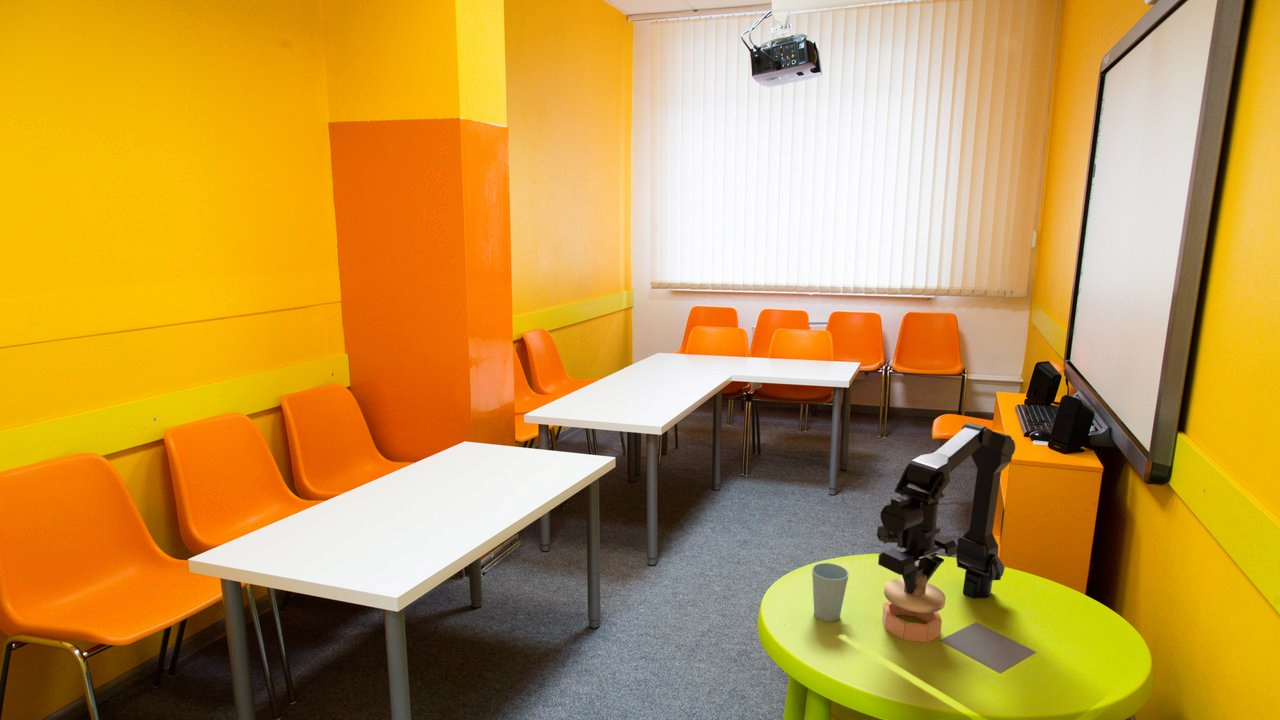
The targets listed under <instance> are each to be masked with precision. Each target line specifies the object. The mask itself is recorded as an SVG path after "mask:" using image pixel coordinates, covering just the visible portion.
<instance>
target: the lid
mask: <svg viewBox="0 0 1280 720" xmlns="http://www.w3.org/2000/svg"><path fill="white" fill-rule="evenodd" d="M926 582H927V575H924V574H921V576H920V578H919V580H918V583H917V585H916V587H915V589H914V591H913V593H912V594H910V593H908V592H907V590H906V587H905V583H904V580H903V577H901V578H894V579H891V580H889V581H887V582H886V583H885V585H884V590H883V594H884V597H885V599H886V600H887V601H890V602H891V603H892V604H894V605H896V606H898V607H900V608H903V609H906V610H909V611H913V612H920V613H931V612H936V611H938V612H939V611H941V610H942V609H944V607H945V605H946V594H945V593H944V592H943V591H942V590H941V589H940V588H938V587H937V586H935V585H933V584H931V583H930V582H927V583H926Z"/></svg>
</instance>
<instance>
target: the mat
mask: <svg viewBox="0 0 1280 720" xmlns="http://www.w3.org/2000/svg"><path fill="white" fill-rule="evenodd" d="M939 641H940V642H941V643H943V644H945V645H947V646H948V647H950V648H952V649H954V650H956V651H957V652H960V653H962V654H964V655H965V656H968V657H969V658H971V659H973V660H975V661H977V662H978V663H980V664H982V665H983V666H985V667H987V668H989V669H991V670H993V671H995V672H996V673H999V674H1001V673H1003V672H1005V671H1006V670H1008V669H1010V668H1012V667H1014V666H1015V665H1017V664H1018V663H1020V662H1022V661H1023V660H1025V659H1027V658H1028V657H1031V656H1032V655H1034V654H1035V653H1037V651H1036V650H1033V649H1031V647H1030V648H1029V647H1028V646H1025V645H1023V644H1022V643H1019V642H1018V641H1015V640H1013V639H1011V638H1009V637H1008V636H1005V635H1004V634H1001V633H999V632H998V631H995V630H993V629H991V628H990V627H987V626H986V625H984V624H981V623H979V622H977V621H975V622H973V623H971V624H969V625H967V626H965V627H963V628H961V629H959V630H958V631H957V630H956V631H954V632H953V633H951V634H948V635H947V636H945V637H943V638H941V639H939Z"/></svg>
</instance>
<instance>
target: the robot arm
mask: <svg viewBox="0 0 1280 720" xmlns="http://www.w3.org/2000/svg"><path fill="white" fill-rule="evenodd" d="M1015 451H1016V443H1015V440H1014V439H1013V438H1012V436H1011V435H1009V434H1005V433H1001V432H997V431H994V430H992V429H991V428H988V427H987V426H984V425H982V424H977V423H973V422H969V423H968V422H967V423H964V425H963V426H962V428H961V430H960V431H958V432H957V433H956V434H955V435H953V437H951V438H950V439H949V440H948V441H946V442H945V443H944V444H943V445H942V446H940V447H939V448H938V449H937V450H936V451H934V452H931V453H926V454H920V455H919V456H917V457H916V458H914V459H912V460H911V461H910V462H909V463H908V464H907V465H906V467H905V469H904V471H903V472H902V475H901V477H900V479H899V481H898V483H897V485H896V487H895V489H894V493H896V494H897V495H898V494H899V495H900V496H898V497H897V496H896V497H895V496H894V497H892V498H890V503H889V504H887V505H884V507H883V508H882V510H881V511H880V521H881V525H878V526H877V530H876V537H877V539H878V541H879V542H882V543H883V544H888V543H889V544H891V543H892V544H896V546H897V547H899V549H904V550H903V551H900V550H898V549H896V548H890V549H888V550H885V551H882V552H881V553H879V554H878V560H877V564H878V566H880V567H883V568H885V569H886V570H889V571H891V572H893V573H895V574H897V575H899V576H902V578H903V580H904V583H905V587H906V590H907V592H908V593H910V594H912V593H913V591H914V589H915V587H916V585H917V583H918V580H919V578H920V576H921V574H924V575H927V582H926V583H929V580H930V579H931V578H932V577H933V575H934V574H935V572H936V570H938V568H939V567H940V566H941V564H943V563H944V562H945V558H942V557H940V556H939V553H938V551H939V550H942V549H943V550H944V554H945V556H946V557H952V556H954V555H955V557H956V565H957V568H960V569H963V570H964V571H965V572H964V580H963V585H962V586H963V587H962V594H963V595H965V596H967V597H968V598H971V599H973V600H974V599H987V598H990V597H991V595H993V596H995V597H997V595H996V594H994V593H992V587H993V582H994V581H1001V579H1002V577H1003V576H1004V575H1003V574H1004V573H1005V572H1004V571H1005V566H1004V564H1003V562H1002V560H1001V559H1000V557H999V543H997V540H996V538H995V535H994V534H993V531H994V524H995V518H996V517H995V516H996V511H997V504H998V497H999V496H998V495H999V490H1000V489H999V488H1000V484H1001V476H1002V472H1003V471H1004V470H1005V468H1006V467H1007V466H1009V464H1010V463H1011V462H1012V458H1013V455H1014V453H1015ZM969 457H971V459H972V461H973V464H974V465H975V467H976V468H975V469H976V474H975V483H974V489H973V490H974V491H973V494H972V495H973V496H972V504H971V510H970V518H969V525H968V530H967V531H966V532H965V533H964V534H963V535H962V536H959V538H958V539H957V543H956V541H955V540H954V539H952V538H950V537H947V536H944V535H943V534H940V533H941V527H939V526H937V520H938V512H939V501H940V499H943V498H944V497H945V494H944V493H943V492H944V490H945V489H946V488H947V486H948V484H949V483H951V473H952V472H953V471H954V470H955V469H956V468H958V467H959V465H961V464H962V463H963V462H964V461H966V459H967V458H969ZM908 485H909V486H910V487H909V486H908ZM912 487H914V488H912ZM915 488H916V489H915ZM918 489H919V490H918Z"/></svg>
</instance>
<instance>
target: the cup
mask: <svg viewBox="0 0 1280 720" xmlns="http://www.w3.org/2000/svg"><path fill="white" fill-rule="evenodd" d="M811 572H812V594H813V614H814V616H815V617H816V618H818V619H819V620H822V621H825V622H835V621H836V622H837V621H838V620H839V619H840V617H841V614H842V613H841V612H842V607H843V603H844V598H845V592H846V589H847V584H848V580H849V577H850V575H849V571H848V569H846V567H843V566H841V565H839V564H836V563H829V562H823V563H822V562H821V563H817V564H814V565H813V567H812V568H811Z"/></svg>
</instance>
